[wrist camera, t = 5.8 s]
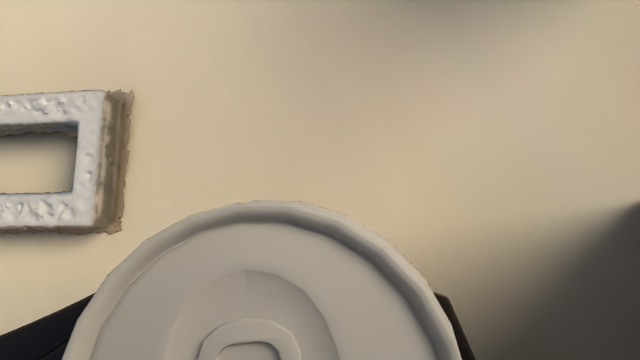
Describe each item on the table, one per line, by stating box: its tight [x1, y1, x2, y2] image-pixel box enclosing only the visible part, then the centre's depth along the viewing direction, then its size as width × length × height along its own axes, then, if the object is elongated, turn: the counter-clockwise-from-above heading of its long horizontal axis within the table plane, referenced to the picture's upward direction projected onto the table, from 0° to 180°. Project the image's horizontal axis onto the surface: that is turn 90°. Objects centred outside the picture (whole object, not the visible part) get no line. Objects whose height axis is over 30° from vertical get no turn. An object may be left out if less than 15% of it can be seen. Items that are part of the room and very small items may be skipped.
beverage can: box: [62, 201, 462, 360], centre depth 10 cm, size 5×5×12 cm
